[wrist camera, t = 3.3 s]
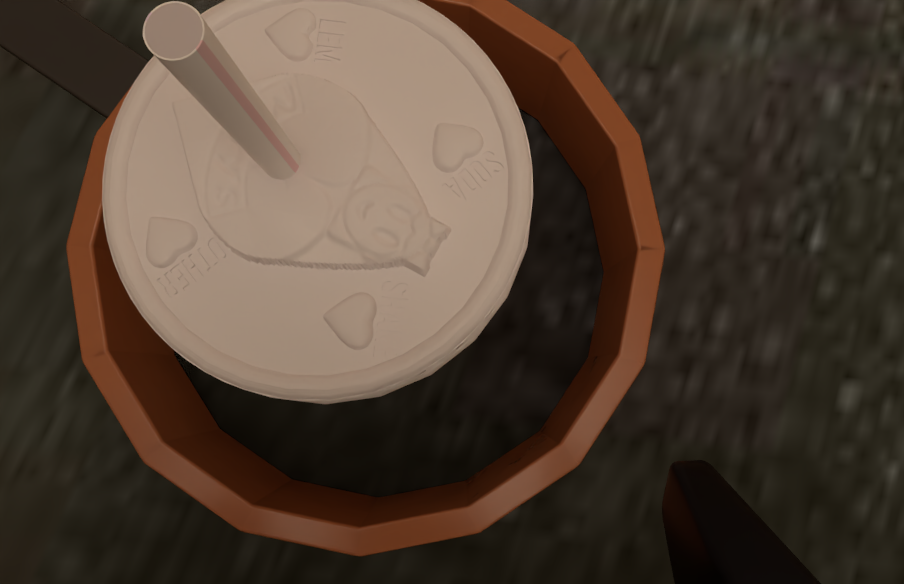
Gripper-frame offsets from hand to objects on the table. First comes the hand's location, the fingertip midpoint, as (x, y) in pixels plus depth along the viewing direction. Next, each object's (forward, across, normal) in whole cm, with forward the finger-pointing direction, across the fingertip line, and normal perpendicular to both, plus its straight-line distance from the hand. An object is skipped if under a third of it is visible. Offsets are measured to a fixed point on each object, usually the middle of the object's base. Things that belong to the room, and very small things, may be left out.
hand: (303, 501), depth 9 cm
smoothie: (+11, 0, +5) cm, 12 cm away
